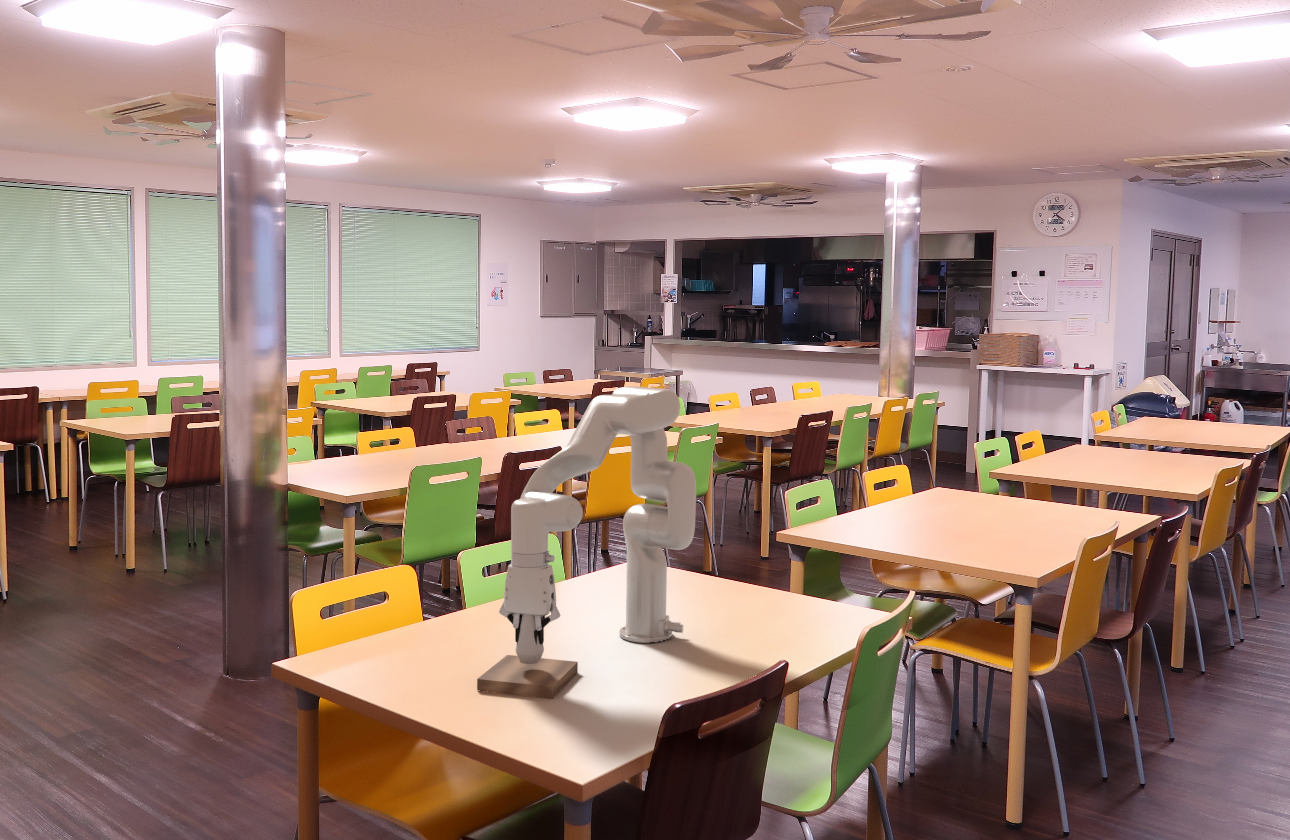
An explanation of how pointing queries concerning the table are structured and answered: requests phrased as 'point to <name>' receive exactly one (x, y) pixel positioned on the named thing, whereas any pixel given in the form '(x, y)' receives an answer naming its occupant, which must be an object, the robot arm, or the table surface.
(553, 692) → the walnut base
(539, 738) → the table surface
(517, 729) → the table surface
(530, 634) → the salt shaker
